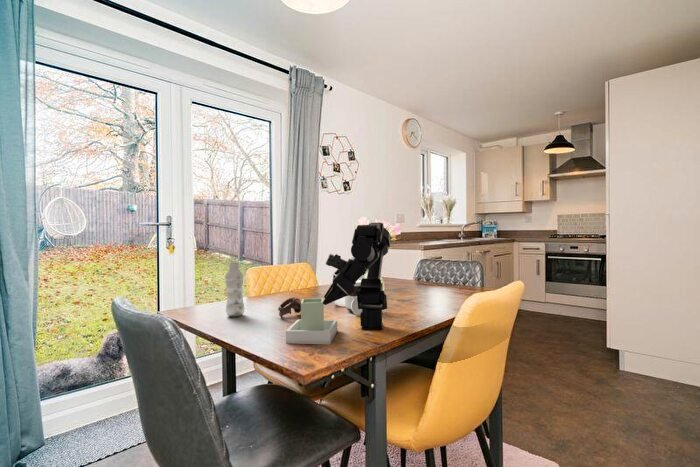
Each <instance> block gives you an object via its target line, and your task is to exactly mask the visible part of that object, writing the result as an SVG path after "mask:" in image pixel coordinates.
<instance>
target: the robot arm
mask: <svg viewBox="0 0 700 467" xmlns="http://www.w3.org/2000/svg"><path fill="white" fill-rule="evenodd" d="M390 235H391V234H390V231H389V230H388V229H386V228H385V226H384V223H383V222H380V221H379V222H369V223H368V224H358V225H356V228H355V229H354V233H353V236H352V241H351V244H352V246H351V247H350V253H351V255H352V257H351V258H348V259H347V260H345V259H343V258H341V255H338V254H337V253H335V254H332V253H329V255H328V257H327V260H326V261H325V265H326V266H328V267H331V268H332V267H333V268H334V269H336V270H335V272H334V274H333V275H332V278H333V279H332V282H331V285H330V286H329V288H328V290H327V291H326V293H325V294H324V296H323V304H324V306H326V305H329V304H332V303H333V302H336V301H338V300H341V299H343V298H345V297H346V296H348V294H349V295H351V294H352V292H353V291H354V285H355V284H356V281H357V280H361V285H360V289H359V290H358V291H357V302H358V309H362V312H361V314H360V316H359V317H360V327H361V330H363V331H364V330H367V331H368V330H370V331H372V330H376V331H383V327H384V323H383V311H385V310H387V309H388V299H387V295H386V293H385V290H384V288H383V283H382V280H381V276H382V267H383V259H384V256H386V254H388V253H389V248H391V236H390ZM366 272H367V275H366V278H365V277H364V278H362V276H365V274H366ZM360 278H362V279H360Z"/></svg>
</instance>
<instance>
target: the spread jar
mask: <svg viewBox="0 0 700 467" xmlns="http://www.w3.org/2000/svg"><path fill="white" fill-rule="evenodd" d="M361 280H362V279H358V280H357V281H356V284H355V285H354V291H353V292H352V294H351V295H349V294H348V296H346V297H344V305H345V308H346V310H347V311H348V312H349V313H351V314H355V315H356V316H359V317H360V314H361V312H362V309H358V302H357V291H358V290H359V289H360V285H361Z"/></svg>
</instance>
